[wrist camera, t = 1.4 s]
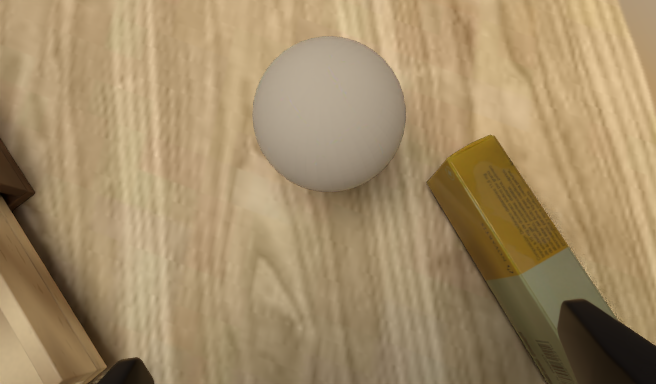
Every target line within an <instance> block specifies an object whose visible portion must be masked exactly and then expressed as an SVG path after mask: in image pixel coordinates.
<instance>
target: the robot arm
mask: <svg viewBox="0 0 656 384" xmlns="http://www.w3.org/2000/svg"><path fill="white" fill-rule="evenodd" d="M557 331H558V336H559V339H560V342H561V344H562V347H563V349H564V351H565V354H566V356H567V359H568V361H569V364H570V366H571V369H572V371H573V374H574V376H575V378H576V381H577V383H578V384H656V346H655V345H653V344H652V343H650V342H649V341H648V340H646V339H645V338H643V337H642V336H640V335H639V334H637V333H636V332H634V331H633V330H631V329H630V328H628V327H627V326H625V325H624V324H622V323H621V322H619V321H618V320H616V319H615V318H613V317H612V316H610V315H609V314H607V313H606V312H604V311H603V310H601V309H600V308H598V307H597V306H595V305H594V304H592V303H591V302H589V301H588V300H585V299H582V298H579V299H572V300H565V301H563V302H562V304H561V308H560V314H559V320H558V325H557ZM97 384H154V380H153V378H152V376H151V374H150V373H149V371H148V369H147V368H146V366H145V365H144V363H143V361H142V360H141V359H140V358H137V357H135V358H127V359H122V360H120V361H118V362H117V363H116V364H115V365H114V366H113V367H112V368H111V369H110V370H109V371H108V372H107V373H106V374H105V375H104V377H103V378H102V379H101V380H100V381H99V382H98V383H97Z"/></svg>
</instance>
